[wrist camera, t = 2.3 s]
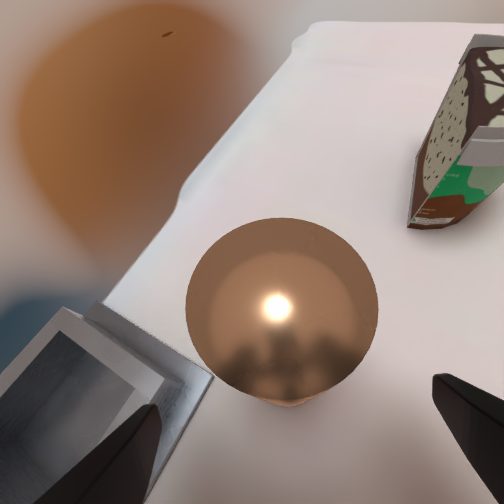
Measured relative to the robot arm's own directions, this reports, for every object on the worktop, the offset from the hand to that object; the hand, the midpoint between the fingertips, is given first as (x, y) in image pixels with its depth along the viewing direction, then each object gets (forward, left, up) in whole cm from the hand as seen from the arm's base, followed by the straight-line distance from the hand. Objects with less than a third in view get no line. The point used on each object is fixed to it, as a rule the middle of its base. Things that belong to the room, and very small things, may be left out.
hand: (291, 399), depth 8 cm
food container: (+22, -6, -10) cm, 25 cm away
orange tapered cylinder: (+2, +1, -10) cm, 10 cm away
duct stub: (-7, +11, -10) cm, 16 cm away
